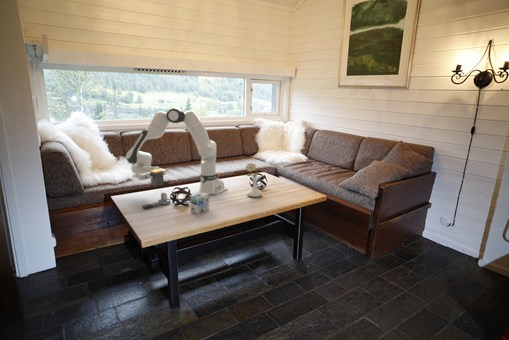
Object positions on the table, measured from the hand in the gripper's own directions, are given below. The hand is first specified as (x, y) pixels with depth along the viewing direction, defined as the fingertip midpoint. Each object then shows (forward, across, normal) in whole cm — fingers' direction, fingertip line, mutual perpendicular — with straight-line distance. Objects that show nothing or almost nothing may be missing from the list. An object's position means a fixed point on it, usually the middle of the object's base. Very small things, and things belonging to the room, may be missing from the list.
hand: (157, 176), depth 207 cm
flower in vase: (+39, +55, +18) cm, 70 cm away
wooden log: (-1, 0, +6) cm, 6 cm away
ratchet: (+7, -6, +18) cm, 20 cm away
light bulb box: (+34, +9, +18) cm, 39 cm away
